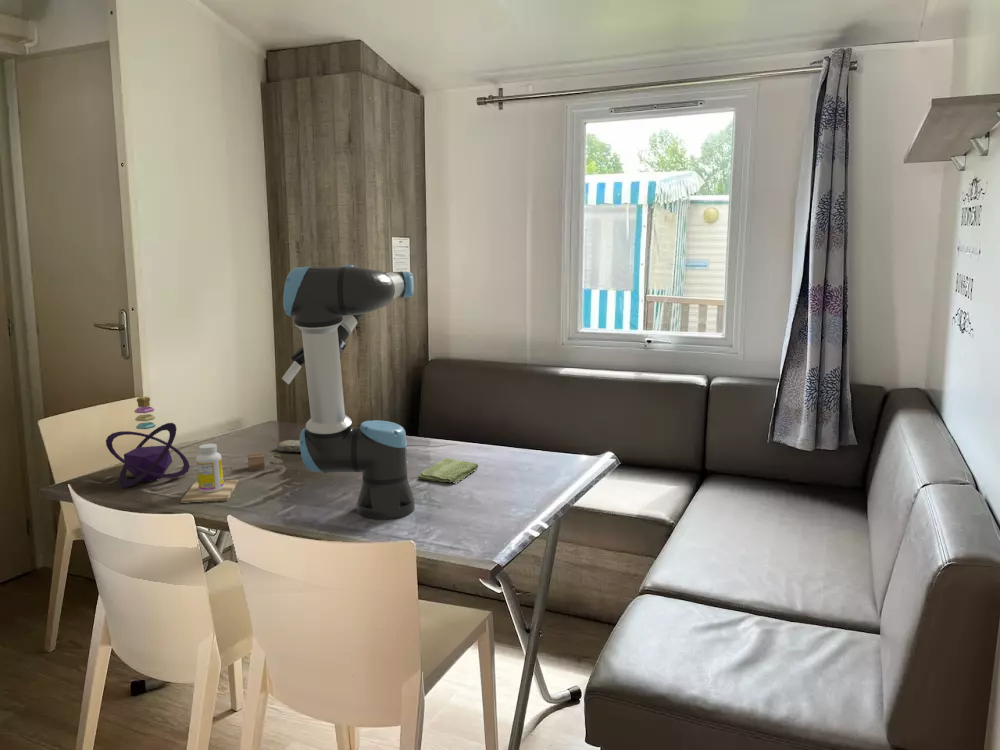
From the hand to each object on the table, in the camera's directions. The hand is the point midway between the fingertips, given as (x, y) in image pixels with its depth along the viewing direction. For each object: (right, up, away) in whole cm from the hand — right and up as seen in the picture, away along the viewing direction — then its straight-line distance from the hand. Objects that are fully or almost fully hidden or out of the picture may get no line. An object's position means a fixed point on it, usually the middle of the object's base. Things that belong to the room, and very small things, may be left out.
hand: (298, 384), depth 212 cm
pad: (-24, -31, -3) cm, 39 cm away
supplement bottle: (-24, -30, -3) cm, 38 cm away
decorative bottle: (-47, -29, +10) cm, 56 cm away
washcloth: (+43, -28, +13) cm, 53 cm away
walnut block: (-19, -27, +20) cm, 38 cm away
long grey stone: (-1, -24, +40) cm, 46 cm away
